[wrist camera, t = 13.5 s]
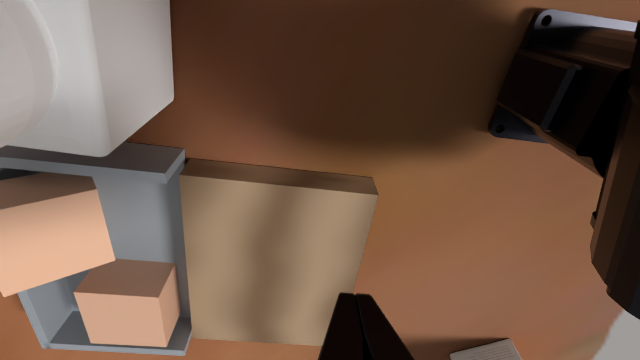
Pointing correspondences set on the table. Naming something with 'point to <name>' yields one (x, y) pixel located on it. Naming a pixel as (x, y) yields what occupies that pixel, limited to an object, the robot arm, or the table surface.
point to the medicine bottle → (82, 72)
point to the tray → (112, 234)
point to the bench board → (270, 248)
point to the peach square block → (130, 302)
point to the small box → (489, 352)
